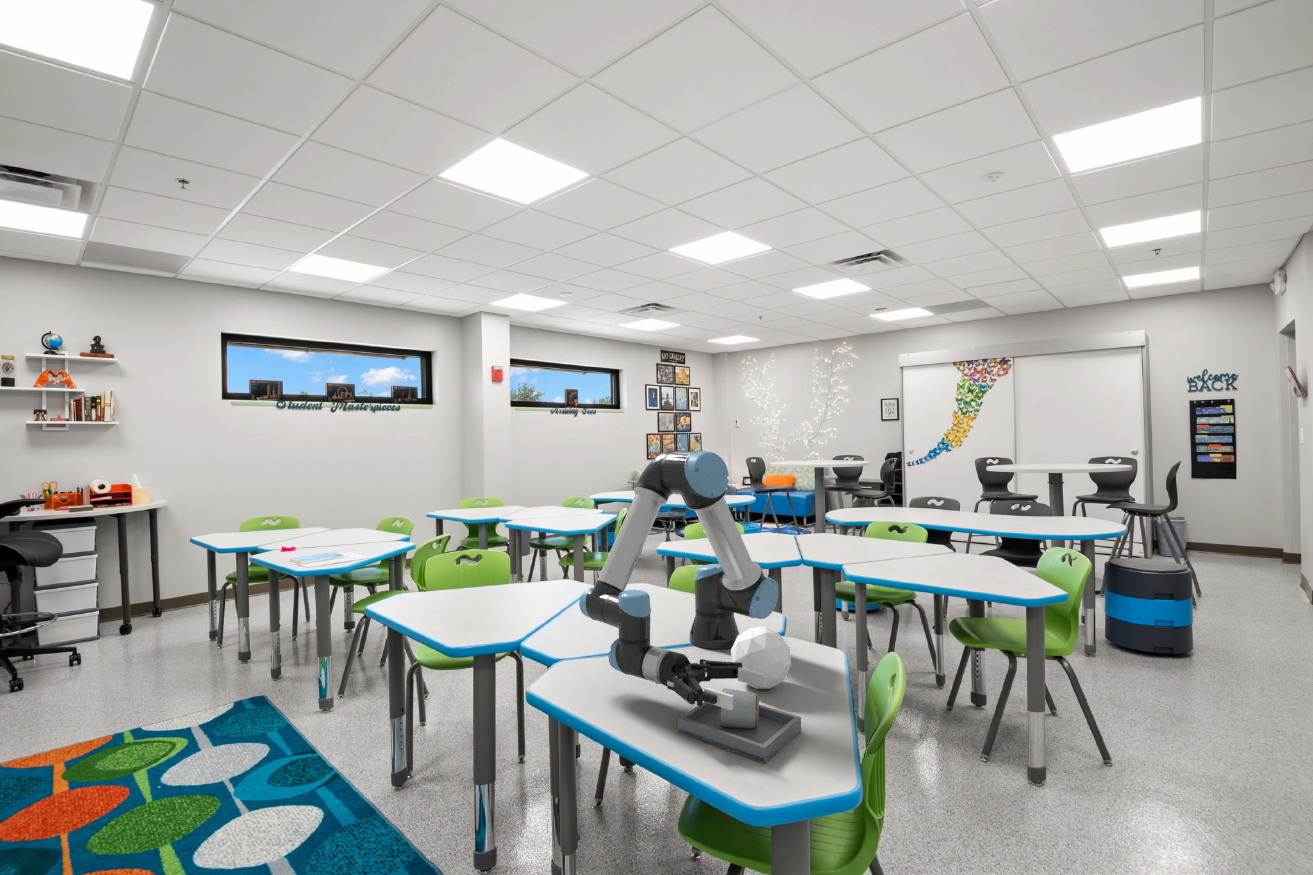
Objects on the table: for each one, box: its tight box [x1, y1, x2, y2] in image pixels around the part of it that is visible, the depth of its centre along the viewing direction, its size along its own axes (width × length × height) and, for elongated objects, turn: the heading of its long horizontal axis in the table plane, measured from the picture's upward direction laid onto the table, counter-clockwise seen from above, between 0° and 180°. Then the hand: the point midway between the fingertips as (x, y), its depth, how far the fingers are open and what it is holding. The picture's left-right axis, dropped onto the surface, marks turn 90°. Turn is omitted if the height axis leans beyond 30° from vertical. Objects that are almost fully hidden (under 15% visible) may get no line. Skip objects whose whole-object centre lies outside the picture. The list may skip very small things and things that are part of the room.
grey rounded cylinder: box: [721, 687, 760, 729], centre depth 127 cm, size 10×8×7 cm
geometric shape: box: [730, 626, 792, 690], centre depth 149 cm, size 14×15×15 cm
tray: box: [677, 701, 802, 765], centre depth 125 cm, size 16×20×3 cm
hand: (749, 691), depth 124 cm, fingers open, 13 cm apart
